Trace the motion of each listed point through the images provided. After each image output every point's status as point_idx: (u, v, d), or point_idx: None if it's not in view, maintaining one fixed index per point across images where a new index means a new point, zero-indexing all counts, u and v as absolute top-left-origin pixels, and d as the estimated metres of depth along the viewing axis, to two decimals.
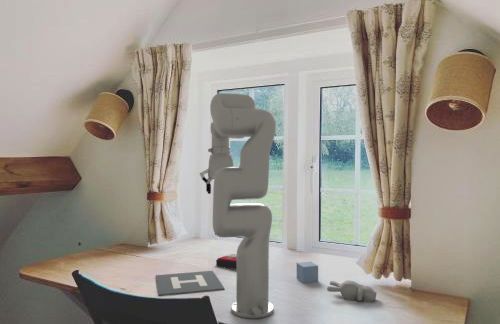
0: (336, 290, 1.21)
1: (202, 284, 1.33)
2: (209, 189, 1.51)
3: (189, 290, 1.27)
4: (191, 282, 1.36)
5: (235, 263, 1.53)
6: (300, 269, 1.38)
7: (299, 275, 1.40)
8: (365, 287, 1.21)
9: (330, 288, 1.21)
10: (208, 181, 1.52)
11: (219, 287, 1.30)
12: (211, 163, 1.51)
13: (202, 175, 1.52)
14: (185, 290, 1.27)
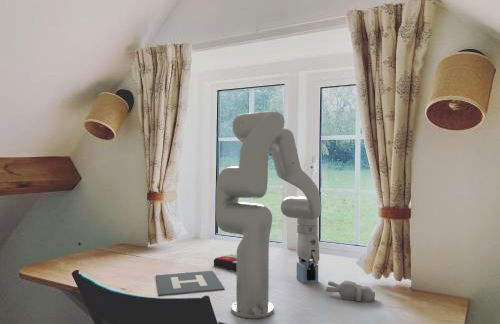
0: (335, 291, 1.20)
1: (202, 284, 1.33)
2: (315, 274, 1.37)
3: (189, 290, 1.27)
4: (191, 282, 1.36)
5: (231, 263, 1.53)
6: (300, 269, 1.38)
7: (299, 275, 1.40)
8: (364, 287, 1.20)
9: (329, 289, 1.20)
10: None
11: (219, 287, 1.30)
12: None
13: None
14: (185, 290, 1.27)
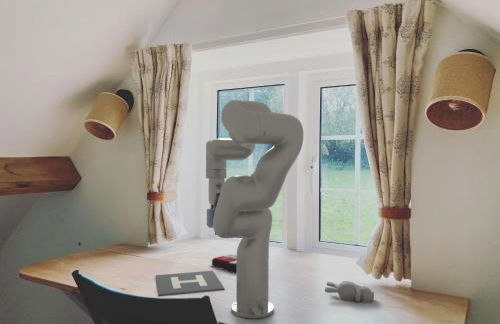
0: (334, 291, 1.20)
1: (202, 284, 1.33)
2: None
3: (189, 290, 1.27)
4: (191, 282, 1.36)
5: (227, 264, 1.52)
6: (208, 214, 1.36)
7: (207, 221, 1.37)
8: (362, 287, 1.20)
9: (328, 289, 1.20)
10: None
11: (219, 287, 1.30)
12: None
13: None
14: (185, 290, 1.27)
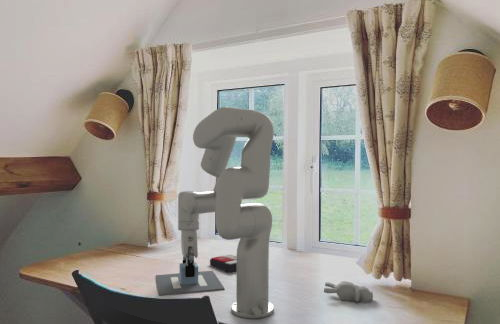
0: (333, 291, 1.19)
1: (202, 284, 1.33)
2: (194, 271, 1.33)
3: (189, 290, 1.27)
4: None
5: (223, 264, 1.52)
6: (180, 270, 1.35)
7: (180, 277, 1.36)
8: (361, 287, 1.20)
9: (327, 290, 1.19)
10: (193, 262, 1.32)
11: (219, 287, 1.30)
12: (196, 240, 1.33)
13: (192, 258, 1.30)
14: (185, 290, 1.27)
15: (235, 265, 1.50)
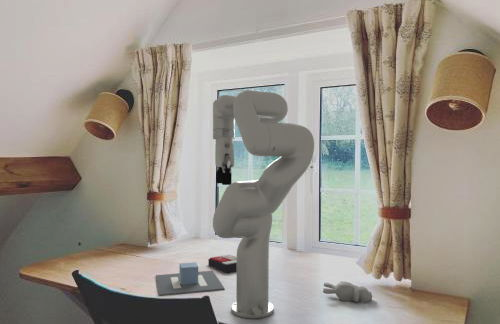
0: (332, 292, 1.19)
1: (202, 284, 1.33)
2: None
3: (189, 290, 1.27)
4: None
5: (220, 264, 1.52)
6: (180, 270, 1.35)
7: (180, 277, 1.36)
8: (360, 287, 1.20)
9: (326, 290, 1.19)
10: None
11: (219, 287, 1.30)
12: (233, 148, 1.28)
13: None
14: (185, 290, 1.27)
15: (231, 265, 1.50)
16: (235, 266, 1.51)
